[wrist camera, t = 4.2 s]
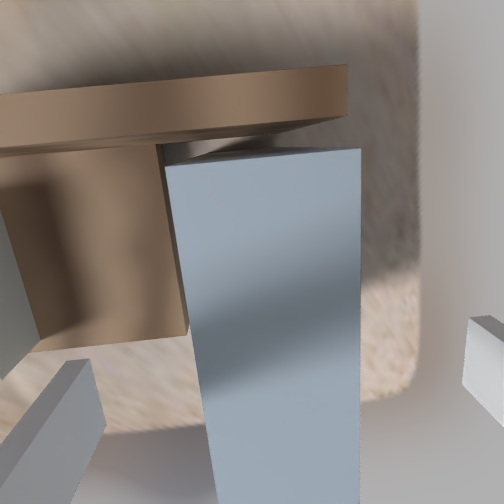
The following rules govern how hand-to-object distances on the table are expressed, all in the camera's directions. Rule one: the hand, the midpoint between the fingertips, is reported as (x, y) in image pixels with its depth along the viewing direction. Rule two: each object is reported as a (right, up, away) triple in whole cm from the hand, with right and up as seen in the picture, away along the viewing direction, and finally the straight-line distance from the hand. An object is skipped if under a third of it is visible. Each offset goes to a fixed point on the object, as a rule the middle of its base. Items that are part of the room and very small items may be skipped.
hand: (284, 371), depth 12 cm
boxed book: (-1, +5, +17) cm, 18 cm away
